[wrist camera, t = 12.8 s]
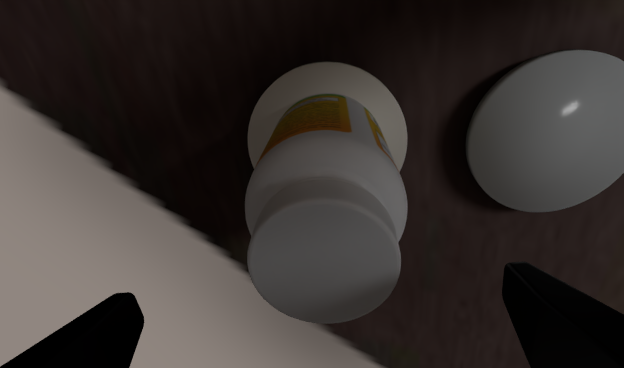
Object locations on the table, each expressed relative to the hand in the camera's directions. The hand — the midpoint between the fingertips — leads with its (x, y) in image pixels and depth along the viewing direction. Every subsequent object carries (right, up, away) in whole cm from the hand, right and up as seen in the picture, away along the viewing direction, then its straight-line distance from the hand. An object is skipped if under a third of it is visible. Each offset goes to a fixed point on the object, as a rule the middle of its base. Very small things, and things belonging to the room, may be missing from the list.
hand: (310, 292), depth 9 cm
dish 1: (+1, +5, +10) cm, 12 cm away
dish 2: (+12, +5, +10) cm, 16 cm away
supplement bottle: (+1, +5, +9) cm, 11 cm away
